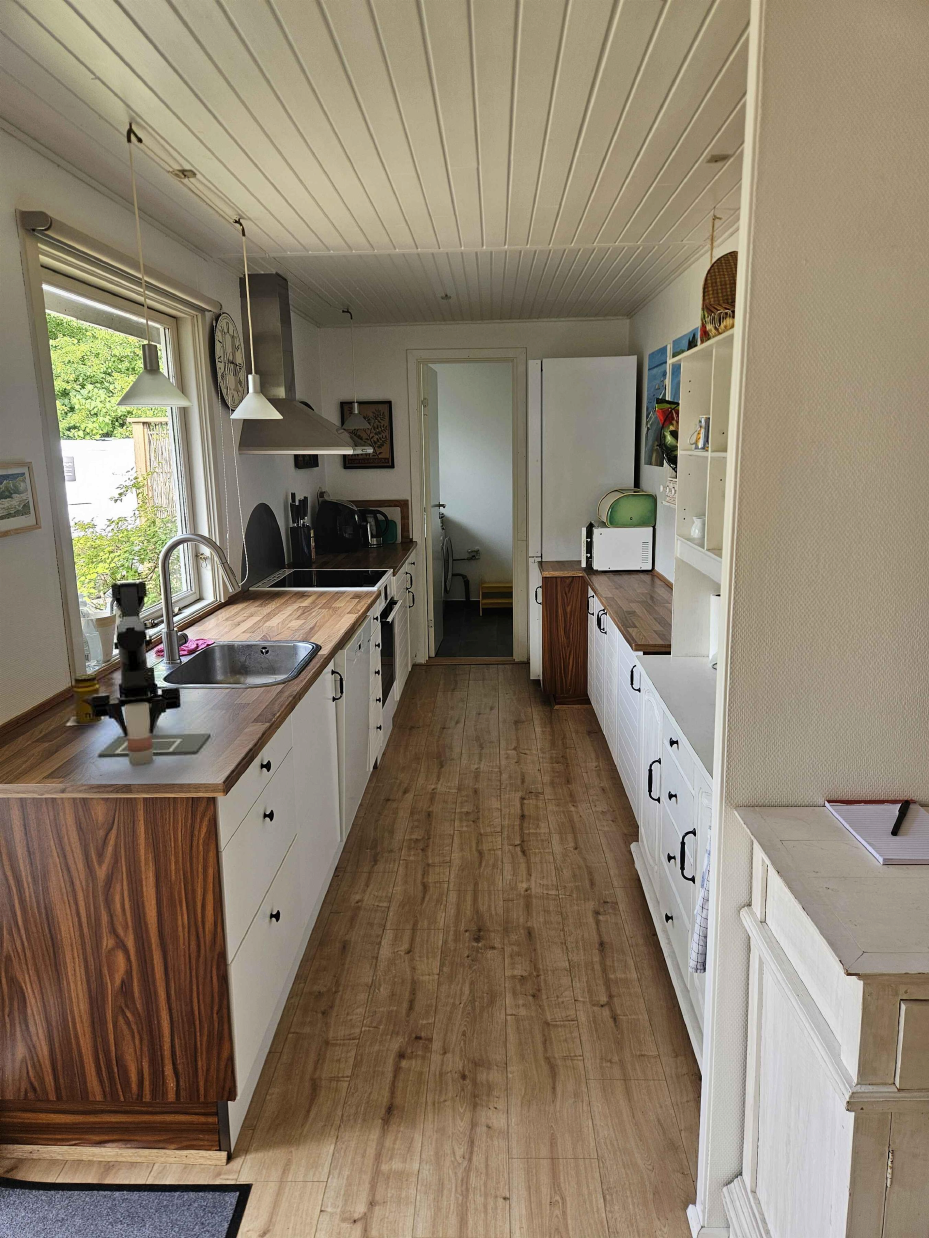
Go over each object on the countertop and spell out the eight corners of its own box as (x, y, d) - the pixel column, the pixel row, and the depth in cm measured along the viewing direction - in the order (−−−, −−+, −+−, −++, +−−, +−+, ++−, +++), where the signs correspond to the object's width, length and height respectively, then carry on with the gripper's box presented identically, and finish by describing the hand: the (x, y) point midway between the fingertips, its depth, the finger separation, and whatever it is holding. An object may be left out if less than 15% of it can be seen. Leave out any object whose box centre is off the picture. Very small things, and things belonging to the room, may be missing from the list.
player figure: (125, 765, 184) (120, 708, 182) (133, 757, 189) (128, 702, 187) (149, 764, 184) (144, 708, 182) (156, 757, 189) (151, 701, 187)
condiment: (100, 723, 215) (96, 678, 213) (65, 726, 214) (60, 681, 211) (105, 715, 222) (101, 672, 220) (71, 718, 221) (67, 674, 218)
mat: (98, 756, 190) (97, 753, 190) (118, 738, 203) (118, 735, 203) (196, 753, 191) (195, 750, 191) (210, 735, 204) (210, 732, 204)
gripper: (86, 660, 183) (89, 722, 175) (176, 652, 189) (182, 711, 181) (91, 686, 191) (94, 746, 183) (177, 677, 198) (183, 735, 190)
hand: (138, 734), depth 184 cm, fingers closed on player figure, 5 cm apart
